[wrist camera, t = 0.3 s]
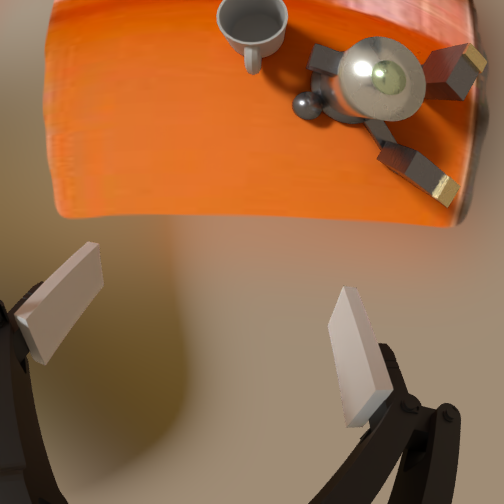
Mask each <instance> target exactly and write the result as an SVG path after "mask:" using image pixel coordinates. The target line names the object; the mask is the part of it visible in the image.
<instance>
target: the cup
mask: <svg viewBox="0 0 504 504" xmlns="http://www.w3.org/2000/svg"><path fill="white" fill-rule="evenodd" d="M287 19H288V13H287V8H286V6H285V4H284V2H283V1H282V0H223V1H222V2H221V4H220V6H219V8H218V11H217V24H218V26H219V28H220V30H221V32H222V33H223V35H224V36H225V38H226V39H227V41H228V42H229V44H230V45H231V46H232V48H233V49H234V50H235V51H236V52H238V53H239V54H241V55H243V56H244V62H245V67H246V70H247V72H248V73H250V74H252V75H255V74H257V73H259V71H260V69H261V60H262V58H264V57H267V56H270V55H271V54H273V53H275V52H276V51H277V50H278V49H279V48H280V46H281V45H282V43H283V41H284V36H285V30H286V25H287Z"/></svg>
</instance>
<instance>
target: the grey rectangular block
mask: <svg viewBox="0 0 504 504" xmlns="http://www.w3.org/2000/svg"><path fill="white" fill-rule="evenodd" d="M486 64H487V61H486V60H485V59H484V58H483V57H482V55H481V54H480V53H479V52H478V51H477V50H476V48H475V47H474V46H473V45H472V44H471V43H469V44H468V43H467V44H462V45H457V46H452V47H448V48H444V49H439V50H435V51H432V52H431V54H430V55H429V57H428V59H427V60H426V62H425V63H424V64H423V65H421V67H422V69H423V72H424V76H425V81H426V92H425V98H426V99H438V100H458V101H464V99H465V97H466V95H467V94H468V92H469V90H470V88H471V86H472V85H473V83H474V81H475V79H476V77H477V75H478V73H482V71H483V69H484V68H485V66H486Z"/></svg>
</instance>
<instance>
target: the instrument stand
mask: <svg viewBox="0 0 504 504" xmlns="http://www.w3.org/2000/svg"><path fill="white" fill-rule="evenodd" d="M306 69H309V70H312V71H313V73H312V76H311V82H310V86H311V92H303V93H300V94H299V95H297V96H296V97H295V98H294V100H293V102H292V109H293V111H294V113H295V114H296V115H297V116H298V117H300V118H302V119H307V120H310V119H314V118H316V117H318V116H319V115H320V114H321V112H322V111H323V112H324V113H325V114H326V115H327V116H329V117H330V118H332V119H334V120H336V121H339V122H343V123H348V124H357V123H363V124H364V125H365V127H366V128H367V130H368V131H369V133H370V134H371V136H372V137H373V139H374V140H375V142H376V144H377V145H378V147H379V148H380V150H382V148H383V147H384V145H385V143H386V141H390V142H394V143H397V142H396V141H395V139H394V137H393V136H392V134H391V132H390V131H389V129H388V127H387V126H386V124H385V123H384V121H383V120H385V121H400V120H403V119H406V118H408V117H410V116H412V115H413V114H414V113H415V112H416V111H417V110H418V109H419V108H420V106H421V104H422V103H423V100H424V97H425V92H426V81H425V76H424V72H423V69H422V67H421V65H420V63H419V61H418V60H417V58H416V57H415V56H414V54H413V53H412V52H411V51H410V50H409V49H408V48H406V47H405V46H404V45H402V44H401V43H399V42H397V41H395V40H393V39H389V38H385V37H370V38H366V39H363V40H361V41H359V42H358V43H356V44H355V45H354V46H352V47H351V48H349V49H348V50H347V51H343V52H339V51H336V50H333V49H330V48H328V47H325V46H322V45H319V44H316V43H315V45H314V46H313V48H312V50H311V53H310V57H309V60H308V63H307V66H306Z"/></svg>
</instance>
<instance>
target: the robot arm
mask: <svg viewBox="0 0 504 504" xmlns="http://www.w3.org/2000/svg"><path fill="white" fill-rule="evenodd" d="M103 286H104V283H103V276H102V268H101V260H100V249H99V244H98V243H92V242H87V243H86V244H84V245H83V246H82V247H81V248H80V249H79V250H78V251H77V252H76V253H75V254H73V255H72V256H71V257H70V258H69V259H68V260H67V261H66V262H65V263H64V264H63V265H62V266H61V267H59V268H58V269H57V270H56V271H55V272H54V273H53V274H52V275H51V276H50V277H49V278H48V279H47V280H46V281H45V282H40V283H38V284H37V285H35V286H33V287H32V288H31V289H30V290H29V291H28V293H26V294H25V295H24V296H23V298H22V299H20V301H18V302H17V304H16V305H15V306H14V307H13V308H12V309H11V310H10V311H9V312H8V313H7V311H6V309H5V306H4V303H3V302H2V301H1V300H0V504H68V502H67V501H66V499H65V498H64V496H63V495H62V493H61V492H60V490H59V488H58V486H57V483H56V481H55V478H54V475H53V472H52V469H51V466H50V463H49V460H48V456H47V453H46V450H45V446H44V443H43V439H42V435H41V431H40V427H39V423H38V419H37V414H36V409H35V404H34V398H33V393H32V386H31V379H30V372H29V364H28V359H27V357H26V355H27V354H28V353H29V351H30V353H31V355H32V357H33V359H34V360H35V361H37V362H39V363H41V364H43V365H46V364H47V363H48V361H49V360H50V358H51V357H52V355H53V354H54V352H55V351H56V349H57V348H58V346H59V345H60V343H61V342H62V341H63V339H64V338H65V336H66V335H67V333H68V332H69V331H70V329H71V328H72V327H73V325H74V324H75V322H76V321H77V320H78V318H79V317H80V316H81V314H82V313H83V312H84V310H85V309H86V308H87V306H88V305H89V304H90V302H91V301H92V300H93V299H94V297H95V296H96V294H97V293H98V292H99V291H100V290H101V288H102V287H103ZM328 330H329V334H330V339H331V344H332V349H333V354H334V359H335V365H336V370H337V375H338V381H339V387H340V392H341V398H342V404H343V410H344V417H345V422H346V427H363V426H364V425H365V424H366V422H367V421H368V420H369V424H370V428H369V429H368V430H367V431H366V433H365V434H364V435H363V436H362V437H361V438H360V439H361V440H360V442H359V443H358V445H357V446H356V447H355V449H354V450H353V451H352V453H351V454H350V455H349V456H348V458H347V459H346V461H345V462H344V463H343V464H342V465H341V467H340V468H339V469H338V470H337V472H336V473H335V474H334V476H332V478H331V479H330V480H329V481H328V482H327V483H326V485H325V486H324V487H323V488H322V489H321V490H320V492H319V493H318V494H317V495H316V496H315V497H314V498H313V499H312V500H311V501H310V502H309V503H308V504H371V502H372V501H373V499H374V498H375V497H376V495H377V494H378V492H379V491H380V489H381V488H382V486H383V484H384V483H385V481H386V480H387V478H388V476H389V475H390V473H391V471H392V470H393V468H394V466H395V465H396V463H397V461H398V459H399V457H400V456H401V454H402V457H401V461H400V465H399V468H398V472H397V475H396V479H395V482H394V486H393V489H392V492H391V495H390V498H389V501H388V504H451V503H452V498H453V493H454V487H455V481H456V473H457V465H458V456H459V445H460V429H461V428H460V427H461V417H460V413H459V411H458V409H457V408H456V407H455V406H453V405H452V404H449V403H444V404H441V405H440V406H439V407H438V408H437V409H431V408H427V407H423V406H421V403H420V401H419V400H418V399H417V398H416V397H415V396H413V395H411V394H409V393H408V391H407V388H406V385H405V383H404V379H403V377H402V374H401V371H400V369H399V366H398V363H397V362H396V358H395V355H394V353H393V351H392V350H391V349H390V347H389V346H388V345H387V344H382V343H378V342H377V339H376V337H375V334H374V331H373V328H372V326H371V323H370V321H369V318H368V315H367V313H366V310H365V307H364V305H363V302H362V300H361V297H360V295H359V293H358V290H357V288H355V287H348V286H343V288H342V290H341V293H340V296H339V299H338V301H337V304H336V306H335V309H334V311H333V314H332V316H331V319H330V321H329V324H328ZM402 452H403V453H402Z"/></svg>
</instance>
